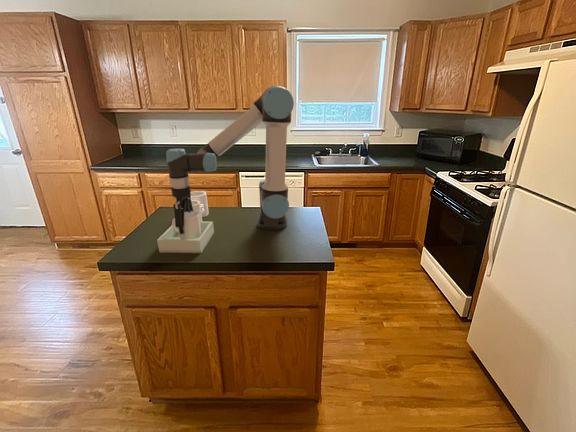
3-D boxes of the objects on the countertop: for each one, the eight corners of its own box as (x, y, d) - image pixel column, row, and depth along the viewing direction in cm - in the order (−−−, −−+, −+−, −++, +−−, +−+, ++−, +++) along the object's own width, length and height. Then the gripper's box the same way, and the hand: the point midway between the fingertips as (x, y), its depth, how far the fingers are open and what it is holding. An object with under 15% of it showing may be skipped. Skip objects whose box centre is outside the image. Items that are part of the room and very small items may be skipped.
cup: (199, 239, 134) (196, 217, 130) (171, 240, 134) (167, 218, 130) (203, 231, 142) (200, 211, 138) (176, 232, 141) (173, 211, 138)
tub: (214, 233, 148) (213, 221, 146) (201, 253, 129) (199, 240, 127) (177, 232, 149) (175, 221, 147) (159, 252, 130) (157, 239, 128)
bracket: (202, 228, 153) (199, 205, 149) (182, 229, 153) (179, 206, 148) (210, 210, 177) (207, 190, 172) (192, 211, 176) (189, 191, 171)
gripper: (181, 179, 139) (187, 225, 148) (160, 194, 120) (169, 245, 128) (197, 179, 139) (202, 225, 147) (179, 194, 119) (187, 246, 128)
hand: (187, 235), depth 138 cm, fingers closed on cup, 8 cm apart
